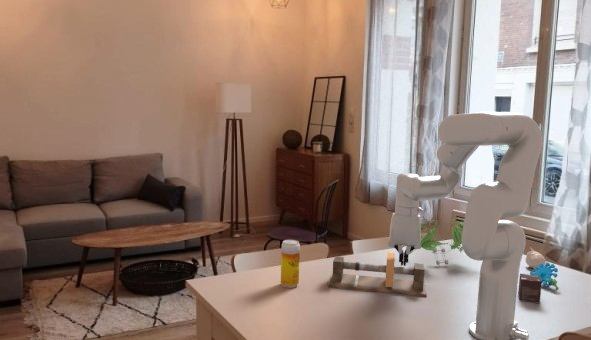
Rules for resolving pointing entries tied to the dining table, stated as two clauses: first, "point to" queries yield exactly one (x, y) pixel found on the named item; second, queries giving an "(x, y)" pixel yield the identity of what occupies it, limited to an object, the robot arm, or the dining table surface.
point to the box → (529, 288)
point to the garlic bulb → (534, 259)
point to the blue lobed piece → (546, 274)
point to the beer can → (290, 263)
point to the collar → (390, 269)
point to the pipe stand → (377, 278)
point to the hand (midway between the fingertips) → (403, 264)
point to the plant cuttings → (433, 244)
